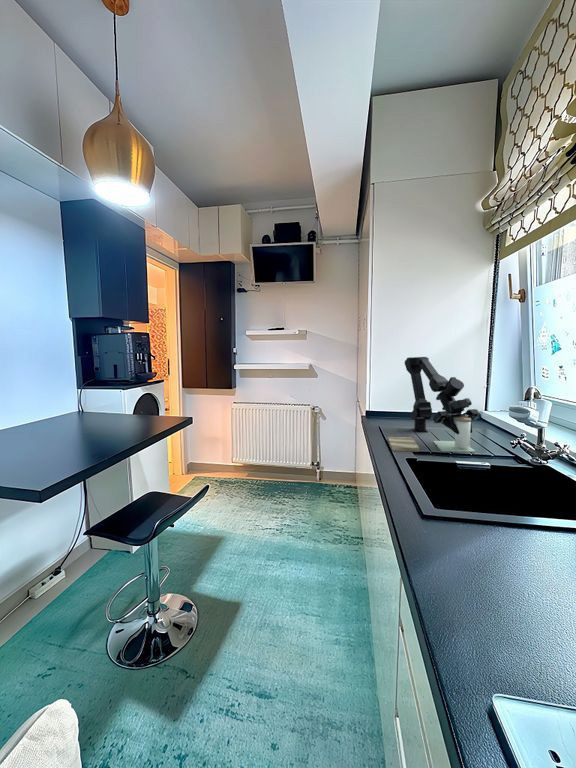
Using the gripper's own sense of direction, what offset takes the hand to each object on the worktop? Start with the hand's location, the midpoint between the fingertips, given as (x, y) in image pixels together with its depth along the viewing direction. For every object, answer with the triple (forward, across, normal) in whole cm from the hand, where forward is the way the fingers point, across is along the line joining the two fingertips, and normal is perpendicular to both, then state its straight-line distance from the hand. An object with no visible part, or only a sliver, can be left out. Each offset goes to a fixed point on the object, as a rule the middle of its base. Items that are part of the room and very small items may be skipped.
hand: (464, 433), depth 135 cm
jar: (+3, 0, +5) cm, 6 cm away
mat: (+2, -1, +9) cm, 9 cm away
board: (-3, -21, +14) cm, 25 cm away
